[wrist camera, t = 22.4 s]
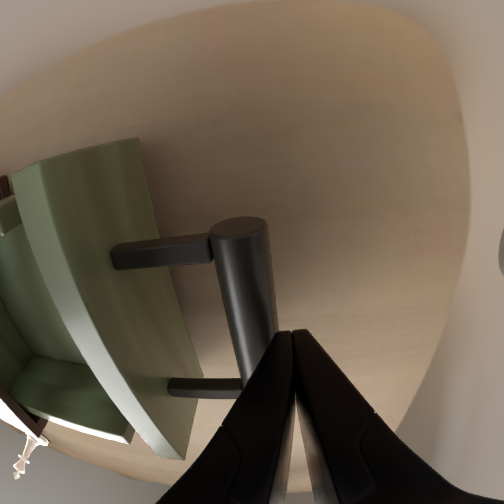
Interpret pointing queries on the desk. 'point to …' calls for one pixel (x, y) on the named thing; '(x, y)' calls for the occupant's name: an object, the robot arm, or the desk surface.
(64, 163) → the drawer
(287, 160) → the desk surface
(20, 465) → the chess piece
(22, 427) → the cabinet
